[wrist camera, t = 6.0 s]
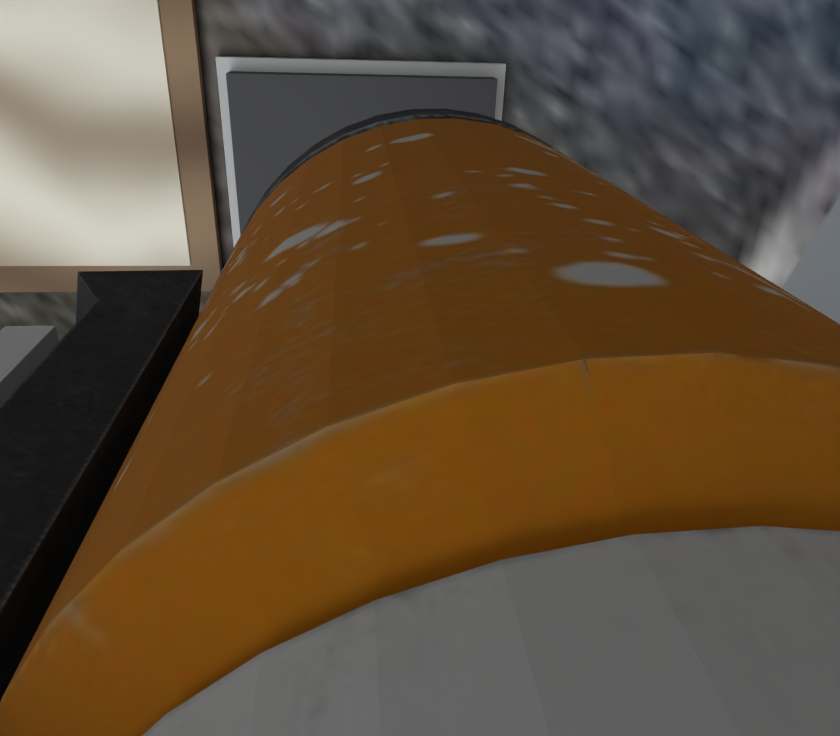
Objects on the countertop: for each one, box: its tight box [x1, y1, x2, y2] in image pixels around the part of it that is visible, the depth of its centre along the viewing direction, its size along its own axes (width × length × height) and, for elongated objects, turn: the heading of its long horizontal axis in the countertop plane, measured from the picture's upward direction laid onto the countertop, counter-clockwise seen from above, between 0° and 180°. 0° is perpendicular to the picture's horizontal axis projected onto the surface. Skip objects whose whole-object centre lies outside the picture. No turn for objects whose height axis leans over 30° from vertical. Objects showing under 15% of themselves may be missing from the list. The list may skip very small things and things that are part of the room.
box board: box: [0, 0, 223, 292], centre depth 28 cm, size 15×13×1 cm
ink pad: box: [216, 56, 506, 247], centre depth 31 cm, size 14×12×2 cm
